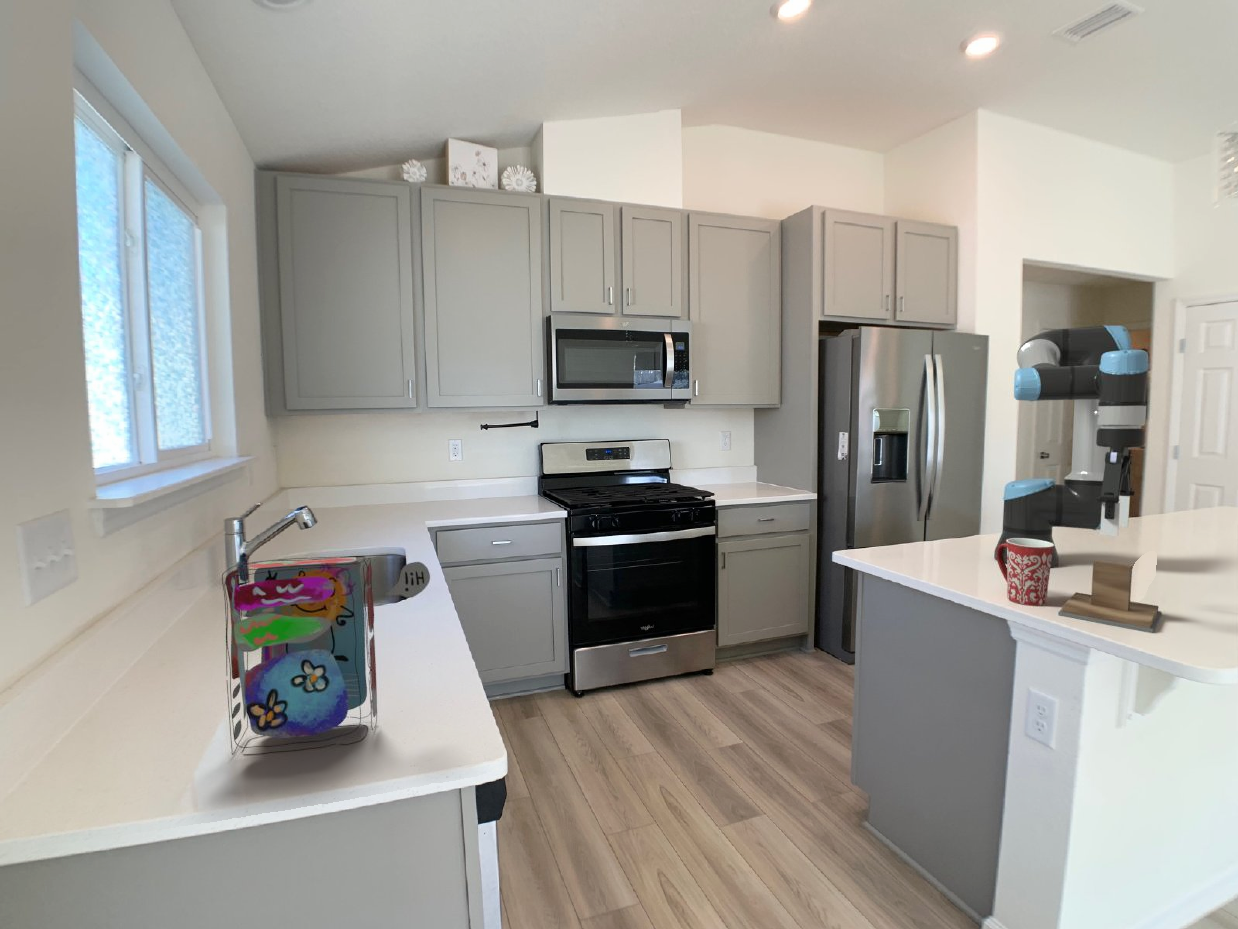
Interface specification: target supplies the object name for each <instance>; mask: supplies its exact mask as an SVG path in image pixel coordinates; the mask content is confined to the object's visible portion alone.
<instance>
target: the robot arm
mask: <svg viewBox="0 0 1238 929" xmlns="http://www.w3.org/2000/svg"><path fill="white" fill-rule="evenodd" d="M1016 360H1017V361H1016V362H1017V365H1018V367H1019V368H1016V370H1015V372H1014V380H1013V381H1014V382H1013V384H1014V385H1013V398H1014V399H1015V400H1017V401H1028V402H1035V401H1037V402H1038V401H1039V402H1040V401H1073V402H1074V404H1073V405H1074V406H1073V425H1072V426H1073V427H1072V428H1073V430H1072V452H1071V455H1072V457H1071V471H1070V473H1069V474H1067V475H1066V476H1065V477H1064V480H1063V484H1056V481H1055V479H1054V478H1027V479H1025V478H1024V479H1018V480H1012V481H1010V482H1007V483H1006V484H1005V485H1004V491H1003V497H1002V500H1003V512H1002V531H1001V534H1000V536H999V540H998V542H997V544H996V546H995V548H994V556H993V558H994V559H995V560H996V561H997V549H998V547H999V545H1001V544H1005V543H1007V542H1006V540H1007V539H1011V538H1027V539H1036V540H1042V541H1047V542H1050V543H1053V544H1054V547H1053V552H1052V560H1051V567H1050V568H1055V567H1057V566H1059V560H1060V557H1059V554H1058V551H1057V548H1056V545H1055V542H1054V539H1053V538H1054V537H1053V528H1054V527H1055V528H1056V527H1057V528H1069V529H1070V528H1071V529H1081V530H1082V529H1084V530H1085V529H1086V530H1093V531H1097V530H1100V532H1099V534H1100V535H1102V536H1113V537H1119V529H1120V527H1121V528H1122V527H1123V528H1128V527H1129V523H1130V522H1129V520H1130V519H1129V518H1130V502H1131V501H1130V500H1131V499H1130V498H1131V496H1132V497H1135V493H1136V492H1135V490H1133V488H1132V463H1133V456H1132V453H1133V452H1132V450H1131V449H1129V448H1141V447H1144V444H1145V430H1144V429H1143V428H1142V426H1143V427H1144V426H1145V425H1146V418H1147V416H1146V415H1147V405H1146V404H1147V402H1146V401H1147V389H1148V388H1147V387H1148V374H1149V373H1148V372H1149V370H1150V365H1149V353H1148V352H1147V351H1146V350H1144V349H1143V350H1142V349H1133V347H1132V341H1131V336H1130V333H1129V331H1128V329H1127V328H1126V327H1125V326H1123V325H1106V324H1105V325H1096V326H1095V325H1093V326H1081V327H1070V328H1056V329H1050V330H1047V331H1043V332H1041V333H1038V334H1036V335H1033V336H1032V337H1030V338H1028V339H1026V341H1024V343H1022V345H1021V346H1020V347H1019V349H1018V350H1017V354H1016ZM1003 556H1004V561H1005V564H1007V547H1006V548H1005V549H1004V553H1003Z"/></svg>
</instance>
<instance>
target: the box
mask: <svg viewBox="0 0 1238 929" xmlns="http://www.w3.org/2000/svg"><path fill="white" fill-rule="evenodd" d="M357 559H363V560H362V561H359V560H357ZM366 559H367V560H366ZM365 560H366V561H365ZM368 561H369V563H368ZM361 563H365V564H364V565H362V566H363V567H362V572H363V573H362V574H363V575H365V577H363V589H362V583H361V572H360V571H361V570H360V569H361ZM371 563H372V562H371V558H370V557H368V558H366V557H365V556H363V555H352V556H345V557H338V556H328V557H327V556H323V557H319V556H318V557H317V558H312V559H307V557H300V558H299V557H295V558H292V559H288V558H283V559H282V558H281V559H276V560H275V559H270V560H269V559H268V560H267V561H266V560H261V561H258V562H257V561H252V562H251V561H250V562H246V563H245V564H242V565H238V564H236V565H233V566H232V567H229V568H228V569H226V570H225V571H224V572H222V574H221V584H222V589H223V590H222V591H223V595H224V596H223V597H224V599H225V600H224V607H225V608H224V609H225V612H224V613H225V615H226V618H225V647H226V648H225V650H226V651H225V653H226V656H225V657H226V661H225V664H226V675H228V664H230V665H229V683H228V681H226V690H227V694H229V692H230V696H232V699H234V700H235V699H236V698H237V696H238V695H239V692H240V691H241V698H242V706H243V710H242V711H243V720H245V719H246V723H247V724H246V725H247V726H246V729H245V731H244V733H243V734H242V736H241V738H240V739H239V741H238V743H237V742H236V740H237V739H238V738H239V736H240V734H241V731H242V727H243V726H242V725H243V724H242V720H241V718H240V719H239V720H238V721H237V722H236V723H235V726H234V719H235V718H236V717H237V715H238V713H239V712H240V710H241V701H240V702H237V704H236V705H235V706H234V707H233V705H232V702H233V700H230V701H229V697H230V696H227V705H228V707H227V708H228V709H230V710H228V718H229V723H231V722H232V723H231V724H232V728H231V725H229V733H230V737H232V734H233V740H234V743H235V744H236V747H235V750H234V751H233V752H232V753H231V755H232V756H234V754H236V751H237V750H238V747H239V748H241V749H242V750H241V752H240V753H241V754H242V755H243V756H256V755H257V756H258V755H264V754H270V753H271V754H272V753H274V751H269V752H260V753H243V752H244V751H245V749H251V748H258V747H263V748H265V747H266V748H268V747H269V748H271V747H272V745H254V746H248V747H247V745H248V743H249V741H251V740H253V739H257V738H262V737H270V738H271V737H272V738H279V739H284V738H285V739H287V738H298V737H299V738H301V737H309V736H310V737H311V736H313V735H318V734H320V733H324V732H327V731H330V730H333V729H335V728H340V727H341V728H342V727H343V728H344V725H341V724H342V723H344V720H345V719H346V718H347V717H348V716H347V715H348V713H349V711H350V710H354V709H356V708H358V707H361V706H362V705H363V704H364V703H365V702H366V701H367V700H366V699H367V697H368V690H370V692H369V700H370V701H369V703H370V713H369V714H368V715H366V716H363V717H362V710H361V708H359V712H360V713H359V715H360V716H359V717H356V716H351V718H352V719H353V718H355V719H359V724H358V725H357V727H356V728H355V729H354V730H352V731H350V732H348V733H345V734H341V735H339V736H333V737H331V738H327V739H323V740H320V742H323V741H329V740H332V739H335V738H339V737H343V736H346V735H348V734H349V735H350V734H352V733H353V732H355V731H356V730H357V729H358V728H359V727H360V726H364V727H366V734H365V735H364V737H363V738H362V739H360V740H357V741H355V742H350V743H340V745H341V746H342V745H343V746H344V745H347V746H348V745H353V744H356V743H359V742H361V741H363V740H364V739H365V737H367V735H368V734H367V733H368V732H369V731H368V730H369V727H368V725H366V724H361V721H362V719H364V718H368V717H369V716H370V725H371V730H372V731H374V730H375V729H376V726H377V723H378V695H377V694H378V692H377V690H378V689H377V688H378V687H377V664H376V644H375V643H376V642H375V641H376V640H375V628H374V627H375V626H374V623H375V608H374V597H373V587H372V583H373V582H372V578H373V570H372V565H371ZM245 565H249V566H248V567H249V569H247V568H246V571H254V572H253V573H249V574H248V573H247V574H245V570H244V566H245ZM365 565H366V573H365V569H364V568H365ZM235 567H237V568H236V569H234V570H232V571H230V572H229V573H228V574H227V575H226V577H225V581H224V578H223V577H224V576H223V575H224V574H225V573H226V572H228V571H229V570H230V569H233V568H235ZM239 569H241V570H242V573H243V574H240V572H239ZM250 575H253V582H252V583H248V584H247V582H246V576H250ZM399 575H400V576H399V579H398V582H397V583H396V584H395V585H394V587H392V588H391V589H390V590H388V591H387V592H384V594H385V595H386V596H388V597H394V596H402V597H404V598H408V599H410V598H411V599H412V598H414V597H415V596H418V595H419V594H420V593H422V592H423V591H424V590H425V589H426V588H427V586H428V585H429V583H430V580H431V573H430V571H429V569H428V567H427V566H426V565H425V564H424V563H423V562H421V561H414V562H413V561H412V562H410V563H407V564H405V565H404V566H403V567H402V569H401V570H400V574H399ZM241 576H243V578H244V579H243V580H244V585H241V586H240V577H241ZM366 585H367V586H368V589H367V591H365V588H366ZM369 586H370V587H369ZM365 596H366V597H365ZM228 602H229V604H228ZM366 603H367V606H366ZM256 608H257V613H258V614H255V615H254V614H253V615H252V616H248V617H247V618H244V619H243V612H249V611H252V610H254V609H256ZM229 610H230V611H229ZM365 611H367V612H365ZM229 612H230V625H231V632H230V633H231V636H230V638H231V639H230V651H229V644H228V641H229V640H228V628H229V626H228V623H229ZM368 632H369V633H370V634H371V633H372V636H371V638H370V639H369V635H368V634H369V633H368ZM368 647H369V649H367V650H366V648H368ZM260 649H261V650H260ZM257 650H260V652H261V660H260V661H261V662H260V663H258V664H256V665H254V666H253V667H251V668H249V666H248V664H249V662H248V661H249V653H251V652H255V651H257ZM229 652H230V653H229ZM244 652H245V653H246V666H245V654H244ZM366 657H367V660H366ZM366 661H367V662H368V663H367V662H366ZM366 663H367V667H368V668H369V672H368V675H369V681H368V684H367V673H366V668H367V667H366ZM236 679H239V680H240V682H239V683H238V684H237V685H236V686H235V688H233V691H232V688H231V686H232V681H231V680H236ZM367 685H368V686H369V688H368V686H367ZM230 712H231V713H230ZM373 718H376V720H375V725H374V728H373V720H372V719H373ZM249 723H250V729H251V731H252V733H254V734H256V735H257V736H256V737H252V738H250V739H249V740H248V741H246V743H245V744H244V746H241V745H240V742H241V741H242V739H243V737H244V735H246V731H247V730H248V728H249ZM350 726H351V727H353V726H356V724H351V725H346V727H350ZM232 732H233V733H232ZM315 742H319V740H313V741H312V740H311V741H310V743H315ZM304 743H307V744H308V743H309V741H299V742H296V744H304ZM293 744H295V742H290V743H284V744H277V745H274V747H279V746H280V747H281V746H287V745H293ZM334 745H335V743H332V744H327V745H324V746H318V747H316V749H321V748H326V747H330V746H334ZM230 747H231V750H233V742H232V739H230ZM312 749H315V747H310V748H309V747H308V748H302V749H293V750H291V752H297V751H298V752H299V751H304V750H312ZM283 752H284V753H285V752H287V753H288V752H289V750H279V751H278V750H277V751H276V753H283Z"/></svg>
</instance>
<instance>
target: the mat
mask: <svg viewBox="0 0 1238 929" xmlns="http://www.w3.org/2000/svg"><path fill="white" fill-rule="evenodd" d="M1162 612H1163V611H1160V610H1158V613H1157V615H1156V617H1155V619H1154V621H1153V623H1152V626H1151V628H1150V629H1149V628H1144V627H1138V626H1133V625H1127V624H1122V623H1117V622H1111V621H1106V620H1101V619H1095V618H1090V617H1085V616H1079V615H1074V614H1069V613H1063V612H1062V608H1061V609H1060V610H1059V611H1058V612H1057V613H1058V616H1061V617H1067V618H1072V619H1078V620H1082V621H1087V622H1094V623H1098V624H1104V625H1109V626H1113V627H1117V628H1118V627H1120V628H1125V629H1130V630H1135V631H1141V632H1144V633H1151V634H1153V633H1155V632H1154V631H1155V629H1156V627H1157V625H1158V623H1159V620H1160V618H1161V617H1162Z"/></svg>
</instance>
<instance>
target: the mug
mask: <svg viewBox="0 0 1238 929" xmlns="http://www.w3.org/2000/svg"><path fill="white" fill-rule="evenodd" d="M1006 542H1007V543H1005V544H1001V545H999V547H998V549H997V560H996V562H997V564H998V565H997V566H998V567H999V570H1000V572H1001V574H1002V576H1003V578H1004V579H1005V580H1004V581H1005V582H1006V583H1007V584H1006V585H1007V586H1006V587H1007V589H1006V590H1007V591H1006V592H1007V593H1006V594H1007V595H1006V596H1007V599H1008V601H1010V602H1013V603H1015V604H1020V605H1024V606H1025V605H1026V606H1032V607H1033V606H1034V607H1037V606H1038V607H1040V606H1045V605H1047V601H1048V600H1047V598H1048V589H1049V581H1050V573H1051V568H1052V567H1051V560H1052V552H1053V547H1054V544H1055V543H1054V544H1053V543H1050V542H1047V541H1042V540H1036V539H1027V538H1011V539H1007V540H1006ZM1006 547H1007V563H1005V561H1004V556H1003V553H1004V549H1005V548H1006Z"/></svg>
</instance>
